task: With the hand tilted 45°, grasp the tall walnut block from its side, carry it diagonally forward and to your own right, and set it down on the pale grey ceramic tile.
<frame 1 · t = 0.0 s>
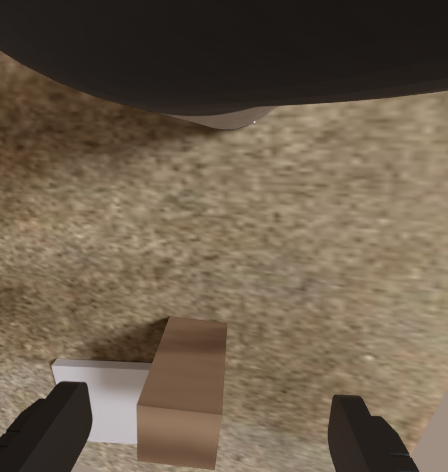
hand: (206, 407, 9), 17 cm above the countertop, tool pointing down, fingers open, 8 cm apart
walnut block: (196, 342, 30), on the countertop
ceramic tile: (115, 400, 33), on the countertop
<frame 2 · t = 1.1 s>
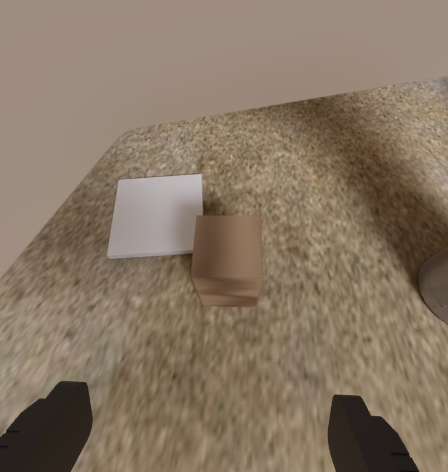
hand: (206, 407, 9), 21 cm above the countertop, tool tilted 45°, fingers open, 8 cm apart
walnut block: (229, 281, 33), on the countertop
ceramic tile: (159, 215, 38), on the countertop
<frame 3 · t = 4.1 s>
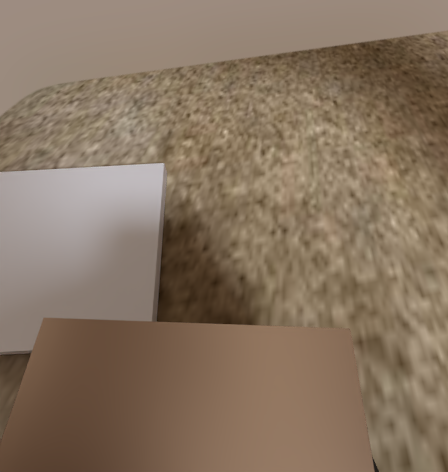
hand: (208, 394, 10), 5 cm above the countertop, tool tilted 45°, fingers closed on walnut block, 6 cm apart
walnut block: (214, 434, 13), on the countertop, touching gripper
ceramic tile: (67, 250, 18), on the countertop
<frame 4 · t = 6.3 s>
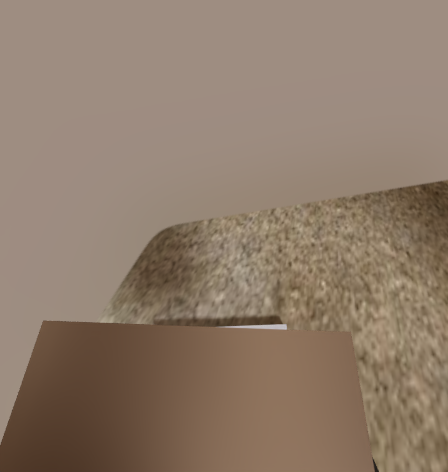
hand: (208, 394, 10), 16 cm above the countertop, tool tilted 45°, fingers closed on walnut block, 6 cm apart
walnut block: (214, 436, 13), point 12 cm above the countertop, touching gripper
when the fingers open (6 cm above the countertop, at t = 8.8 s): walnut block stays where it is, resting on ceramic tile.
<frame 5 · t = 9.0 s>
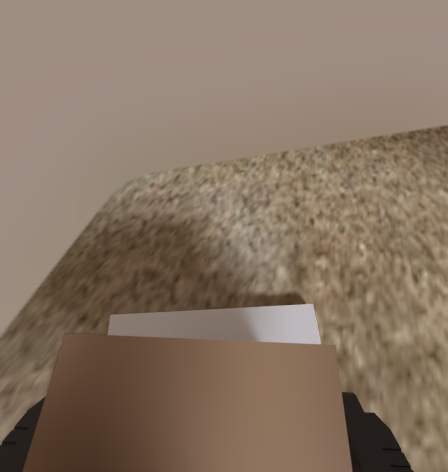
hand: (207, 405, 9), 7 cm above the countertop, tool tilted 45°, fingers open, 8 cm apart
walnut block: (214, 436, 13), point 1 cm above the countertop, touching ceramic tile
ceramic tile: (215, 429, 14), on the countertop
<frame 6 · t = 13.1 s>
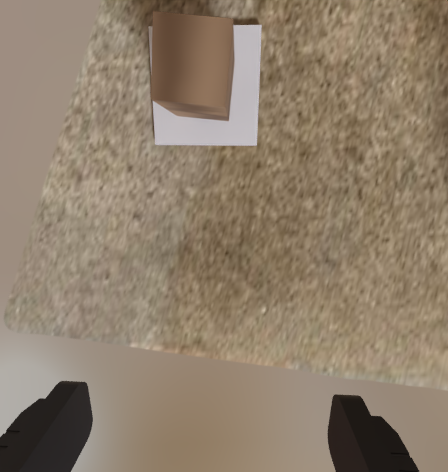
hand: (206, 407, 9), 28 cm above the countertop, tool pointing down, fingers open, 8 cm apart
walnut block: (205, 89, 31), point 1 cm above the countertop, touching ceramic tile
ceramic tile: (206, 90, 32), on the countertop
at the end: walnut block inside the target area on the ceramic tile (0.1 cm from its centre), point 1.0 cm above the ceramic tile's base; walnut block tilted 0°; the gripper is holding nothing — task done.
